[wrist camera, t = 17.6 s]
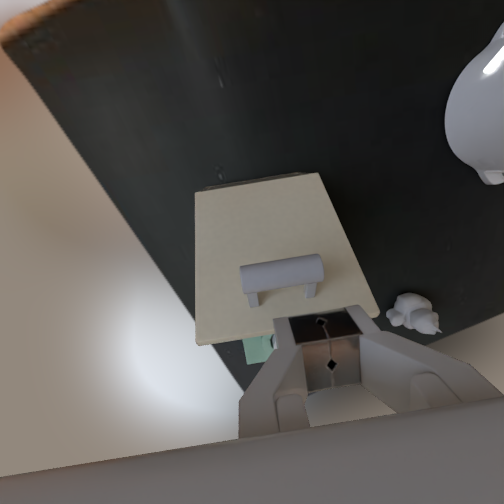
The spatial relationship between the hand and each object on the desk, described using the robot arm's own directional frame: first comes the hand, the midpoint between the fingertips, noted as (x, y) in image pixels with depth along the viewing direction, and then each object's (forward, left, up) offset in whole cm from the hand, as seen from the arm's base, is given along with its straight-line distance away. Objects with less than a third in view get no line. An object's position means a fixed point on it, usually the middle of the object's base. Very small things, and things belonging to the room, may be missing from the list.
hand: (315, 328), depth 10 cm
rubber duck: (-20, +19, -29) cm, 40 cm away
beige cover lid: (0, +2, -15) cm, 15 cm away
